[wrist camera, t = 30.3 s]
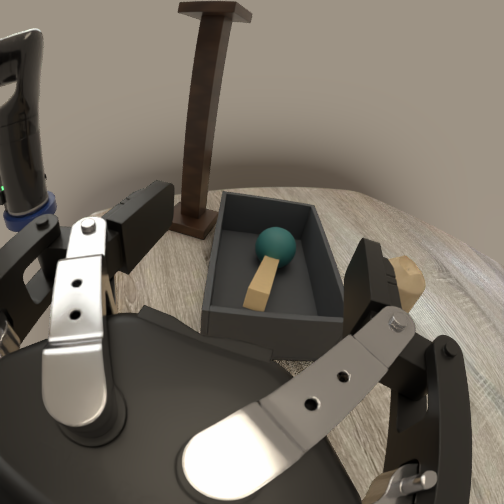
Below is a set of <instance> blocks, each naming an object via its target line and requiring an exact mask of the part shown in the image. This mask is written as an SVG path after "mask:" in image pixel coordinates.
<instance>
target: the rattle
mask: <svg viewBox="0 0 504 504" xmlns="http://www.w3.org/2000/svg"><path fill="white" fill-rule="evenodd" d="M255 251H256V255H257V257H258V259H259V260H260V261H261V264H260V266H259V268H258V270H257V272H256V274H255V276H254V278H253V280H252V281H251V283H250V285H249V287H248V290H247V293H246V297H245V300H244V304H243V307H245V308H248V309H251V310H254V311H262V312H264V310H265V307H266V304H267V301H268V298H269V295H270V291H271V288H272V284H273V281H274V277H275V274H276V270H277V268H281V267H284V266H286V265H287V264H289V263H290V262H291V261H292V259H293V258H294V256H295V253H296V242H295V239H294V237H293V236H292V235H291V233H290V232H289V231H287V230H286V229H283V228H280V227H271V228H268V229H266V230H264V231H263V232H262V233H261V234H260V235H259V236H258V238H257V240H256V244H255Z"/></svg>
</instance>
